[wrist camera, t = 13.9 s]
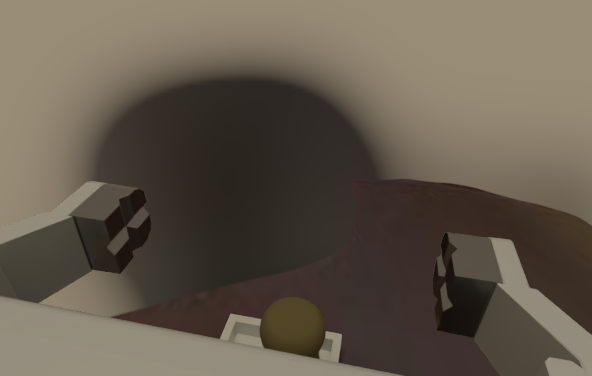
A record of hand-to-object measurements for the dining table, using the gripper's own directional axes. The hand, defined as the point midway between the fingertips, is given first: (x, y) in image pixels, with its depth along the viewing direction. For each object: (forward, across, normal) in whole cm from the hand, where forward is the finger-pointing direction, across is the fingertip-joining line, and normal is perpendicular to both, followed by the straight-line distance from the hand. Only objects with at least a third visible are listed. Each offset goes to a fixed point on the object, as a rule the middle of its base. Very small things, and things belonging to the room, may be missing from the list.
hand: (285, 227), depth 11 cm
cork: (+12, +2, +30) cm, 32 cm away
